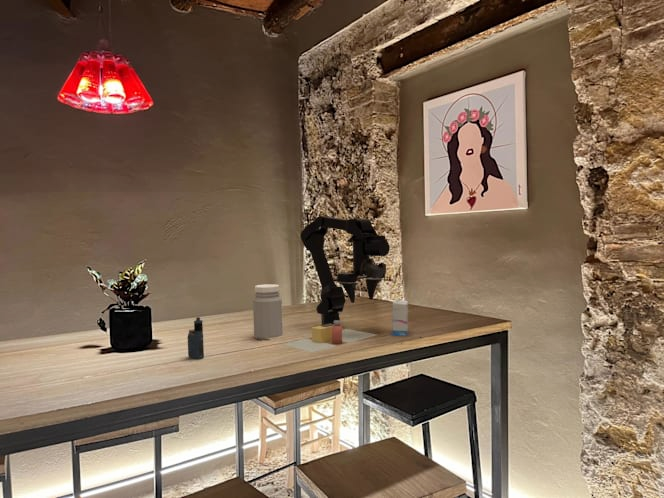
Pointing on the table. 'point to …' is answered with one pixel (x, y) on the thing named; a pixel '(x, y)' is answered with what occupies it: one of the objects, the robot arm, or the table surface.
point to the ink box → (400, 318)
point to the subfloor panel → (314, 346)
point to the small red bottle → (336, 332)
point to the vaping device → (196, 340)
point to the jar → (267, 312)
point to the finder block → (322, 333)
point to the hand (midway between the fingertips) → (362, 301)
